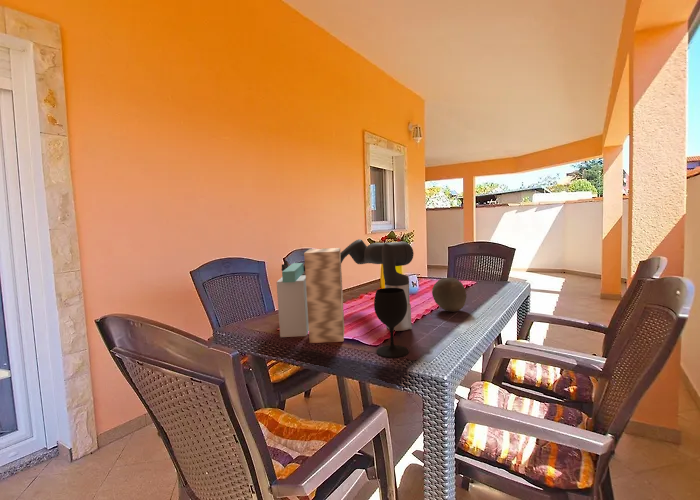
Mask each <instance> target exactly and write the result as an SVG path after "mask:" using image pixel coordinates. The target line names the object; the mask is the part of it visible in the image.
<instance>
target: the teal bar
mask: <svg viewBox="0 0 700 500" xmlns="http://www.w3.org/2000/svg"><path fill="white" fill-rule="evenodd" d="M303 265H304V262H296V263H295V262H293V263H290V266H289V267H288V268H286V269H285V270H284V271H282V270H281V273H282V275H281V278H283V283H286V282H296V280H297V279H298V278H299V277H300V276H301V275H302V274H303V273H304V267H303Z"/></svg>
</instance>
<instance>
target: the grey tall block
mask: <svg viewBox="0 0 700 500" xmlns="http://www.w3.org/2000/svg"><path fill="white" fill-rule="evenodd" d="M276 294H277V296H276V297H277V309H278V311H277V312H278V322H279V325H278V326H279V337H280V338H287V337H288V338H289V337H290V338H293V337H307V336H308V335H309V332H308V331H309V324H308V308H307V291H306V275H301V276H300V277H299V278H298V279H297V280H296V282H286V283H283V278H282V277H280V278H279V279H278V280H277V281H276Z"/></svg>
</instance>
